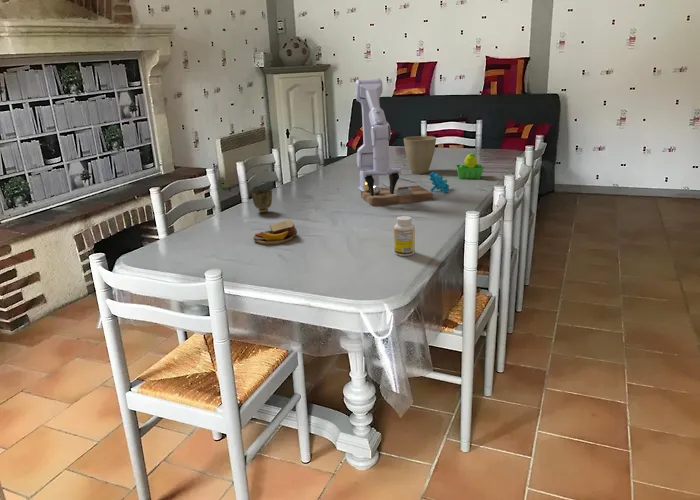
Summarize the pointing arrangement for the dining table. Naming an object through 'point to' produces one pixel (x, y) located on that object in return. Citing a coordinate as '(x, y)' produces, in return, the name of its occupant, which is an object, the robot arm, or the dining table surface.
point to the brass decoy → (366, 187)
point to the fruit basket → (470, 168)
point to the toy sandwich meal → (277, 233)
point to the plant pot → (419, 152)
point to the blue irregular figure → (439, 182)
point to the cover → (402, 190)
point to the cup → (262, 200)
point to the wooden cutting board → (389, 198)
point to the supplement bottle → (404, 236)
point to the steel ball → (377, 189)
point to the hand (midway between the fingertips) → (382, 194)
